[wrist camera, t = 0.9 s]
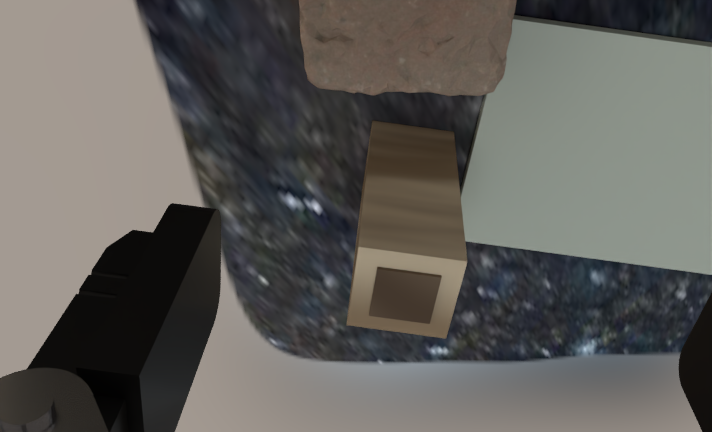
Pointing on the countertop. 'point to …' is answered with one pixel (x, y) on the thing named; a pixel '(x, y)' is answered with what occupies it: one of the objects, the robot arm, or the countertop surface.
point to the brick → (406, 45)
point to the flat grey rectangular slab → (596, 148)
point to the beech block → (408, 233)
